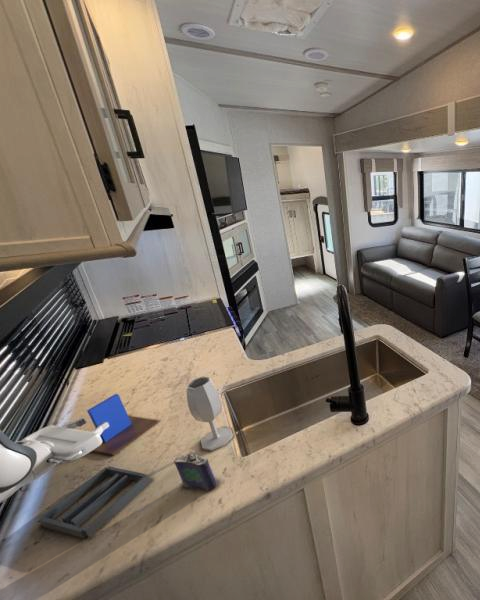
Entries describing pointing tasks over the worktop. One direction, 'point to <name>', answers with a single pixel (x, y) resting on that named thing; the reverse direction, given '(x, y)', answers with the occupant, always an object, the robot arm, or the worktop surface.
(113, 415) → the lid
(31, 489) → the worktop surface
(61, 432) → the robot arm
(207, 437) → the wineglass
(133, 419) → the board
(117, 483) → the rack
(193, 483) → the flask
